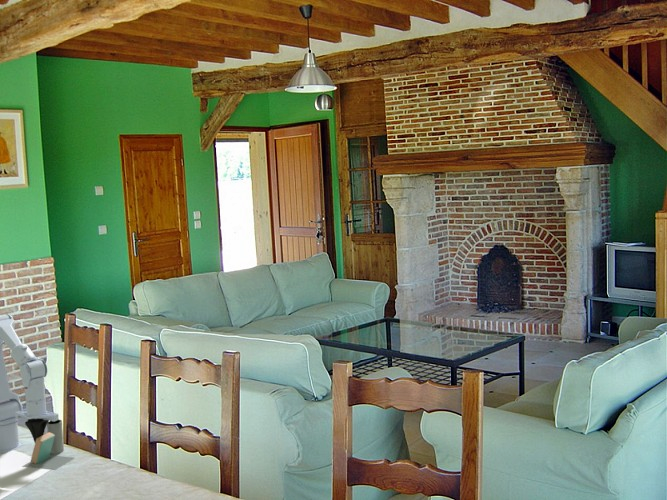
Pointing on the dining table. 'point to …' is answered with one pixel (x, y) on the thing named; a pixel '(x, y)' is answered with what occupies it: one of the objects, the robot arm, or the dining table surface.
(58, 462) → the mat
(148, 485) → the dining table surface
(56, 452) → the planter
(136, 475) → the dining table surface
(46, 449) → the tile
